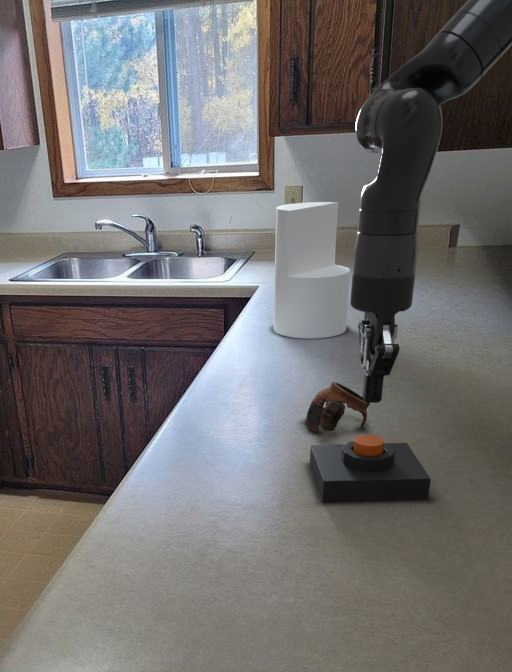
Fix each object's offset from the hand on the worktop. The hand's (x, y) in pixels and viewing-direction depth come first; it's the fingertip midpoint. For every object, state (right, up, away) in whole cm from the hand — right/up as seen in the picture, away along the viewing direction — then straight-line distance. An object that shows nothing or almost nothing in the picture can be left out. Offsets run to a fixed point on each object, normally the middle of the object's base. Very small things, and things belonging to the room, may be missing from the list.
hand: (371, 400), depth 99 cm
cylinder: (+9, +26, +79) cm, 84 cm away
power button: (0, -7, +3) cm, 7 cm away
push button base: (+1, -11, +5) cm, 12 cm away
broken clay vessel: (+1, -2, +23) cm, 23 cm away
